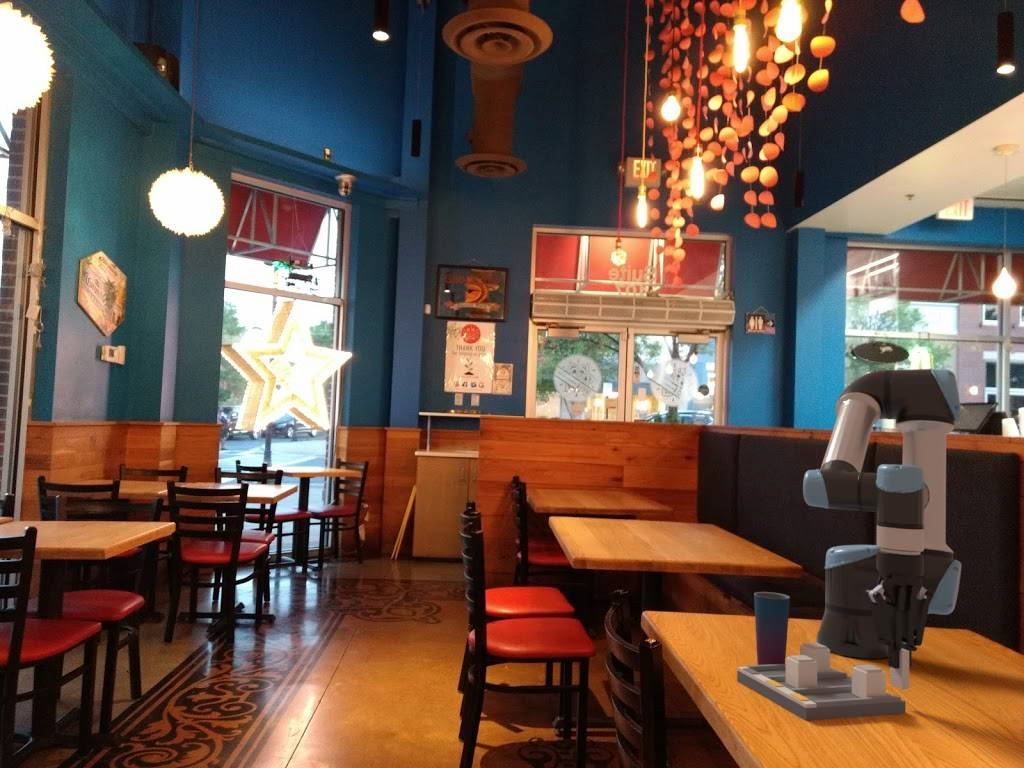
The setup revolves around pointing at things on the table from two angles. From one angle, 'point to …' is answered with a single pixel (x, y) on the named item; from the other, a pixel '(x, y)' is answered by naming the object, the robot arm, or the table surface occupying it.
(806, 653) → the tab
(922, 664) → the table surface
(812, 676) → the tab middle
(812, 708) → the switch bank
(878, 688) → the tab
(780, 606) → the cup
